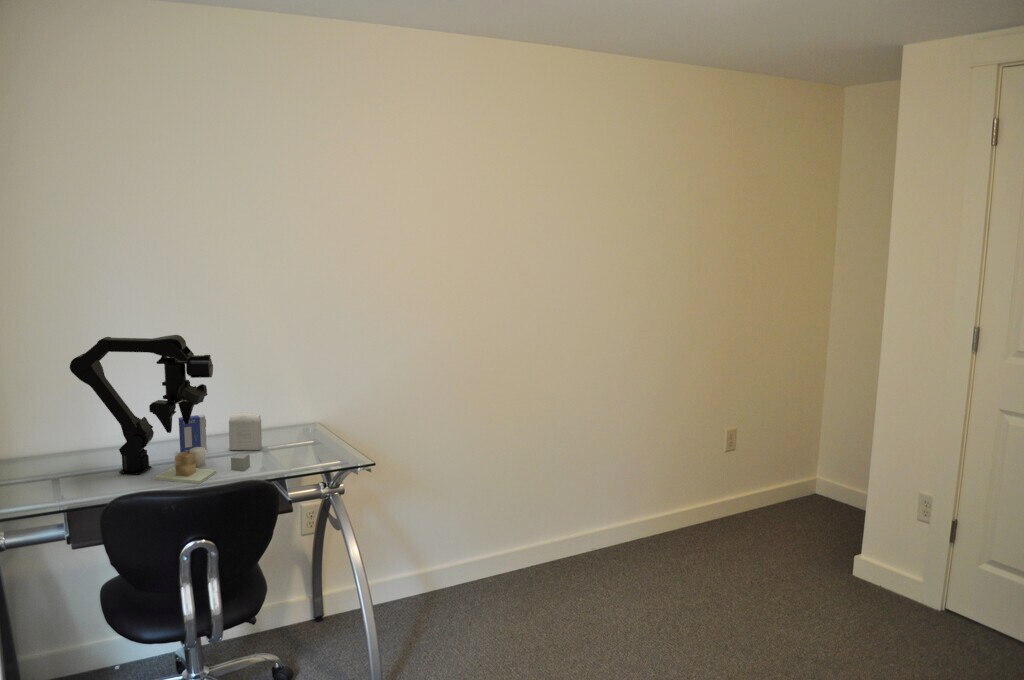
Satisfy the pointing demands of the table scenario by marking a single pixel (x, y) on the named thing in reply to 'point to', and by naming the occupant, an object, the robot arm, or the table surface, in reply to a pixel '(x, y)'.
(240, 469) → the grey cube
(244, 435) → the photo printer
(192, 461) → the oak block
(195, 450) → the white cylinder
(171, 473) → the sage board
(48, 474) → the table surface
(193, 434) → the walkman
